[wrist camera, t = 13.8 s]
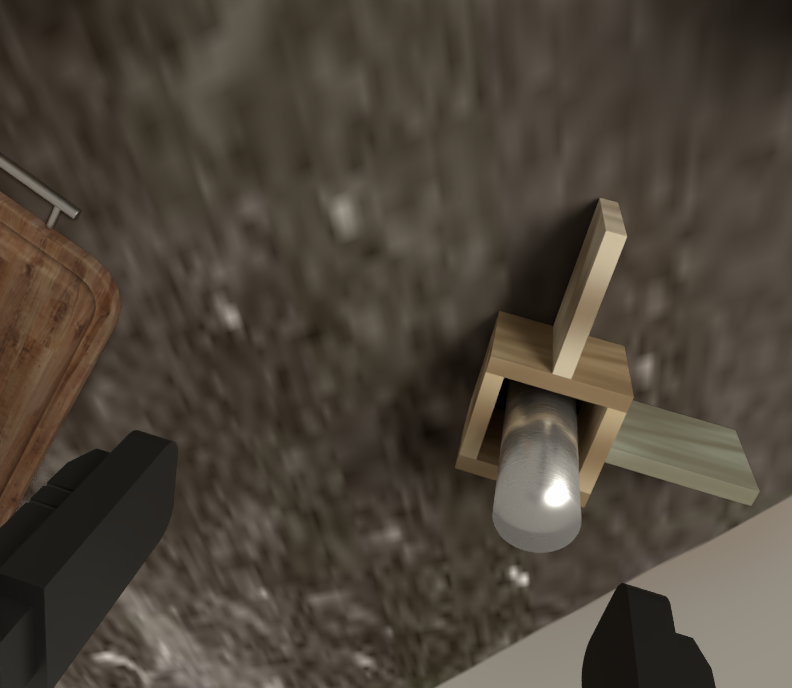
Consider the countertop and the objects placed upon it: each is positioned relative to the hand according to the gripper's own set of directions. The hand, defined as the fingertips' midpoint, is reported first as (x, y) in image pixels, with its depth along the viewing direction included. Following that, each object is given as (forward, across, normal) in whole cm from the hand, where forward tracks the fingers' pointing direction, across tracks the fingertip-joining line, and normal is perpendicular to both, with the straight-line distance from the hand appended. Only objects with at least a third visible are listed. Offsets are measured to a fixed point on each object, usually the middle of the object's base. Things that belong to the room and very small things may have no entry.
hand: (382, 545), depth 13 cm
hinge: (+30, -10, +8) cm, 33 cm away
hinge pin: (+30, -6, +12) cm, 33 cm away
